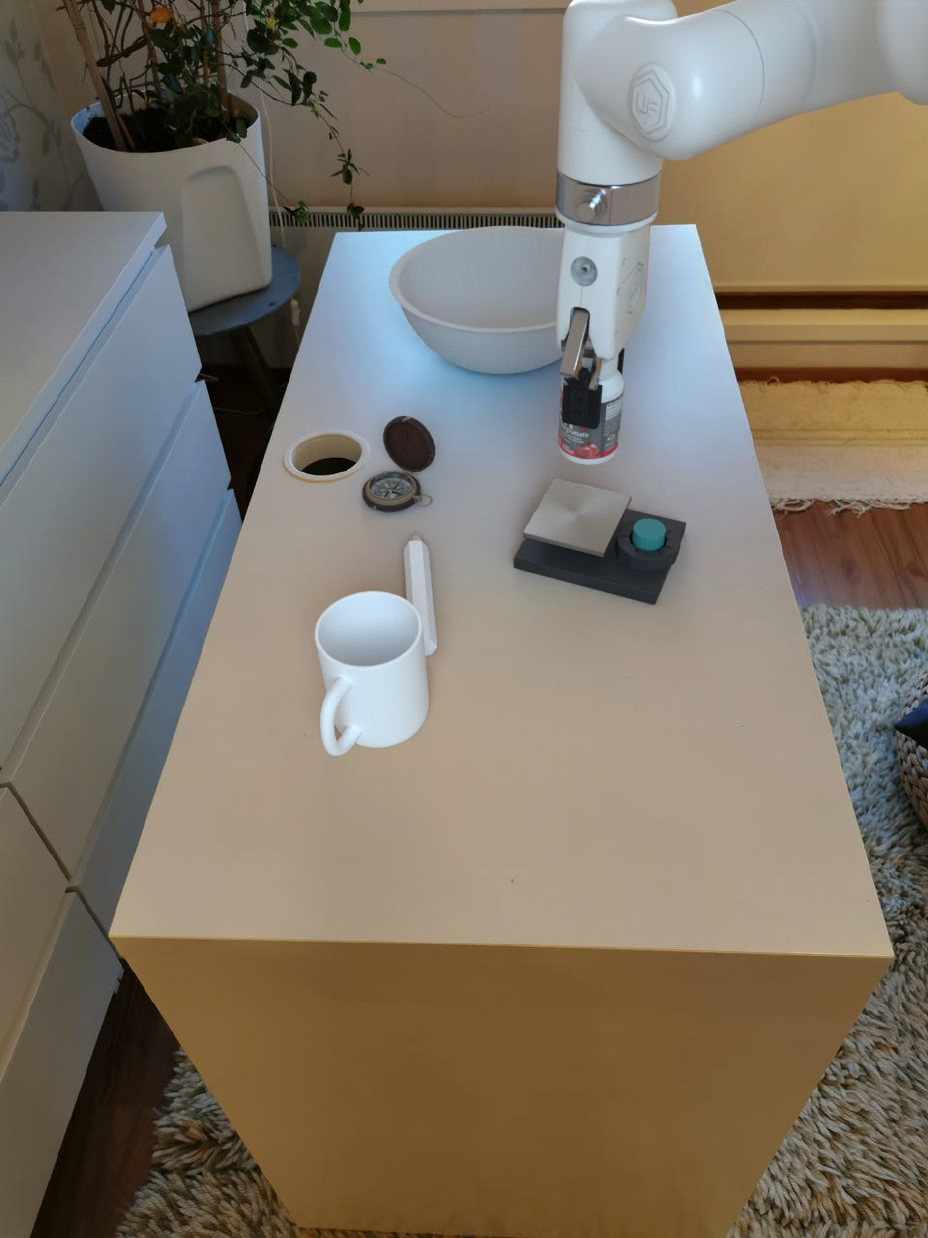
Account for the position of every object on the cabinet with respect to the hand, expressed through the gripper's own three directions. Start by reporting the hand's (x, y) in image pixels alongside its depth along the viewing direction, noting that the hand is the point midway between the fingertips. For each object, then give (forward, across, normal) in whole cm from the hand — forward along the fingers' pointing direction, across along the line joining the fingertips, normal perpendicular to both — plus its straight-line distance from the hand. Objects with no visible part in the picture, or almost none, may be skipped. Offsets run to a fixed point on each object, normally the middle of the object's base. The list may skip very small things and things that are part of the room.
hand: (591, 403), depth 82 cm
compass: (+17, +1, +20) cm, 26 cm away
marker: (+17, -12, +12) cm, 24 cm away
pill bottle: (+5, 0, 0) cm, 5 cm away
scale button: (+14, 0, -7) cm, 15 cm away
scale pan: (+13, 0, 0) cm, 13 cm away
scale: (+16, 0, -2) cm, 16 cm away
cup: (+17, -28, +9) cm, 34 cm away
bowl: (+17, +32, +21) cm, 42 cm away
